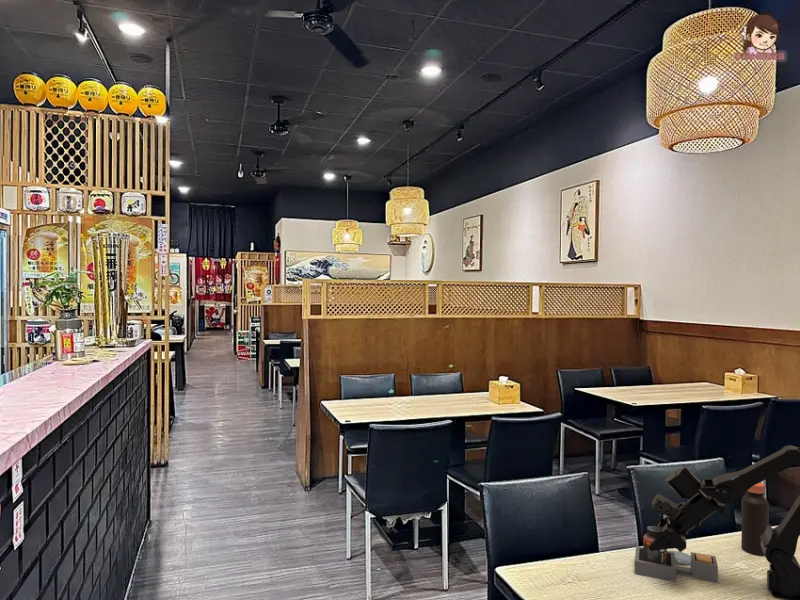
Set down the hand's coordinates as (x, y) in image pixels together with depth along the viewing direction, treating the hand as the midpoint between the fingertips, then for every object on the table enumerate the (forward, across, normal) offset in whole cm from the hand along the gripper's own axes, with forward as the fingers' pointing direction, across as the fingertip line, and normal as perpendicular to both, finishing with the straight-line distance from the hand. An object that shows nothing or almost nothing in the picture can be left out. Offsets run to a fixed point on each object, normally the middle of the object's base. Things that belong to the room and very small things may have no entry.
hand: (649, 544), depth 153 cm
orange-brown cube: (-5, -2, +14) cm, 15 cm away
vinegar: (-15, -25, +25) cm, 38 cm away
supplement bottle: (+4, 0, +6) cm, 7 cm away
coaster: (-1, -10, +10) cm, 14 cm away
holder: (0, 0, +9) cm, 9 cm away
